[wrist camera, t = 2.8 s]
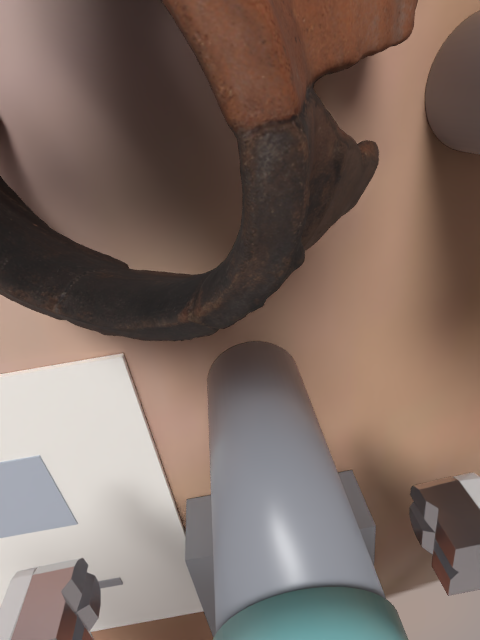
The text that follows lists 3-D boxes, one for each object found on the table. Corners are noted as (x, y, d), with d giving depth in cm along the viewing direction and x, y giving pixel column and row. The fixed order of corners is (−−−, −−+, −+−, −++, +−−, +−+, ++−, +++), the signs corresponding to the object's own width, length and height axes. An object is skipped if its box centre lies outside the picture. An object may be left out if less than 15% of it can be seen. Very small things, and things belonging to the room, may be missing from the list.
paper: (123, 353, 13) (121, 357, 12) (210, 605, 20) (211, 611, 20) (-252, 417, 12) (-260, 423, 12) (-19, 647, 20) (-22, 653, 20)
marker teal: (297, 330, 13) (456, 684, 5) (303, 408, 15) (430, 766, 7) (195, 348, 13) (192, 733, 5) (213, 424, 14) (232, 804, 7)
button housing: (352, 470, 16) (375, 526, 14) (352, 563, 20) (371, 620, 18) (186, 499, 16) (184, 560, 14) (215, 588, 20) (217, 649, 17)
